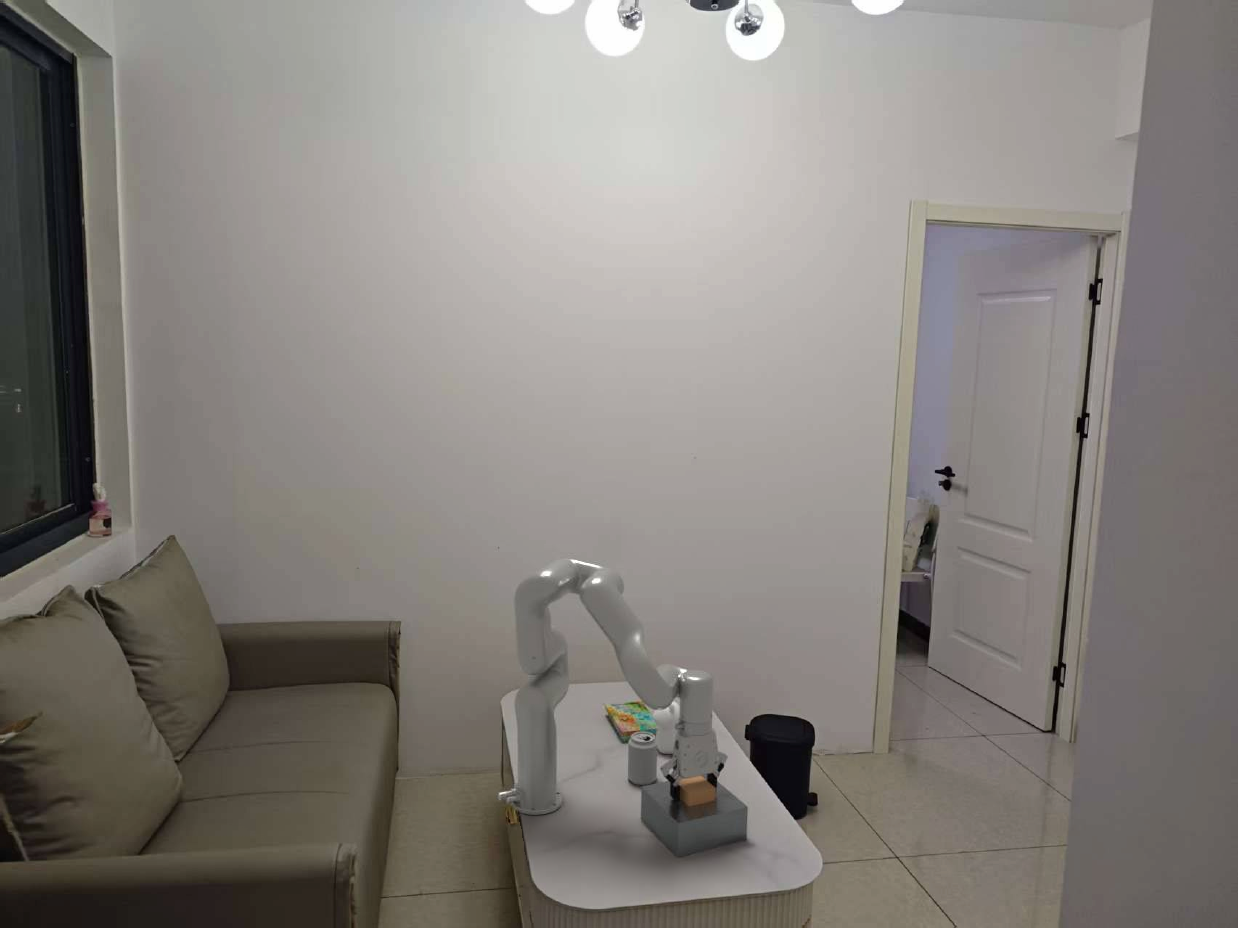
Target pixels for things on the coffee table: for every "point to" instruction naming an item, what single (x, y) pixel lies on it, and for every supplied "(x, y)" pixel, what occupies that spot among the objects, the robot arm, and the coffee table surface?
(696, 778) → the tan cardboard box
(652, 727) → the puzzle game
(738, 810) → the grey square socket block
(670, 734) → the cat figurine
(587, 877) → the coffee table surface
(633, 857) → the coffee table surface
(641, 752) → the can
